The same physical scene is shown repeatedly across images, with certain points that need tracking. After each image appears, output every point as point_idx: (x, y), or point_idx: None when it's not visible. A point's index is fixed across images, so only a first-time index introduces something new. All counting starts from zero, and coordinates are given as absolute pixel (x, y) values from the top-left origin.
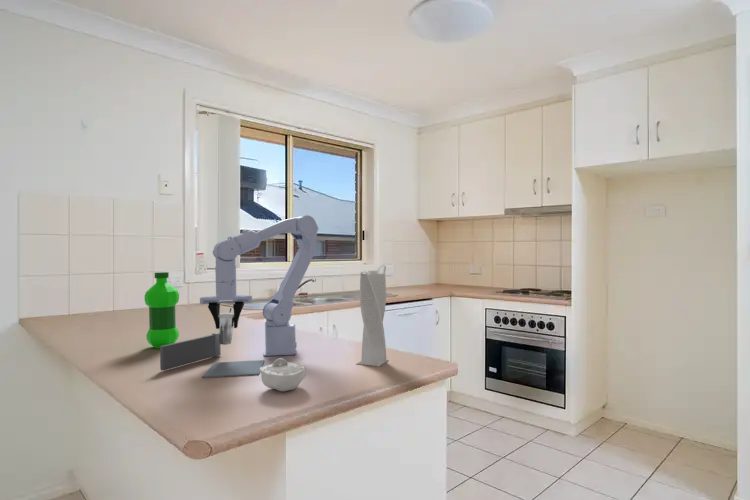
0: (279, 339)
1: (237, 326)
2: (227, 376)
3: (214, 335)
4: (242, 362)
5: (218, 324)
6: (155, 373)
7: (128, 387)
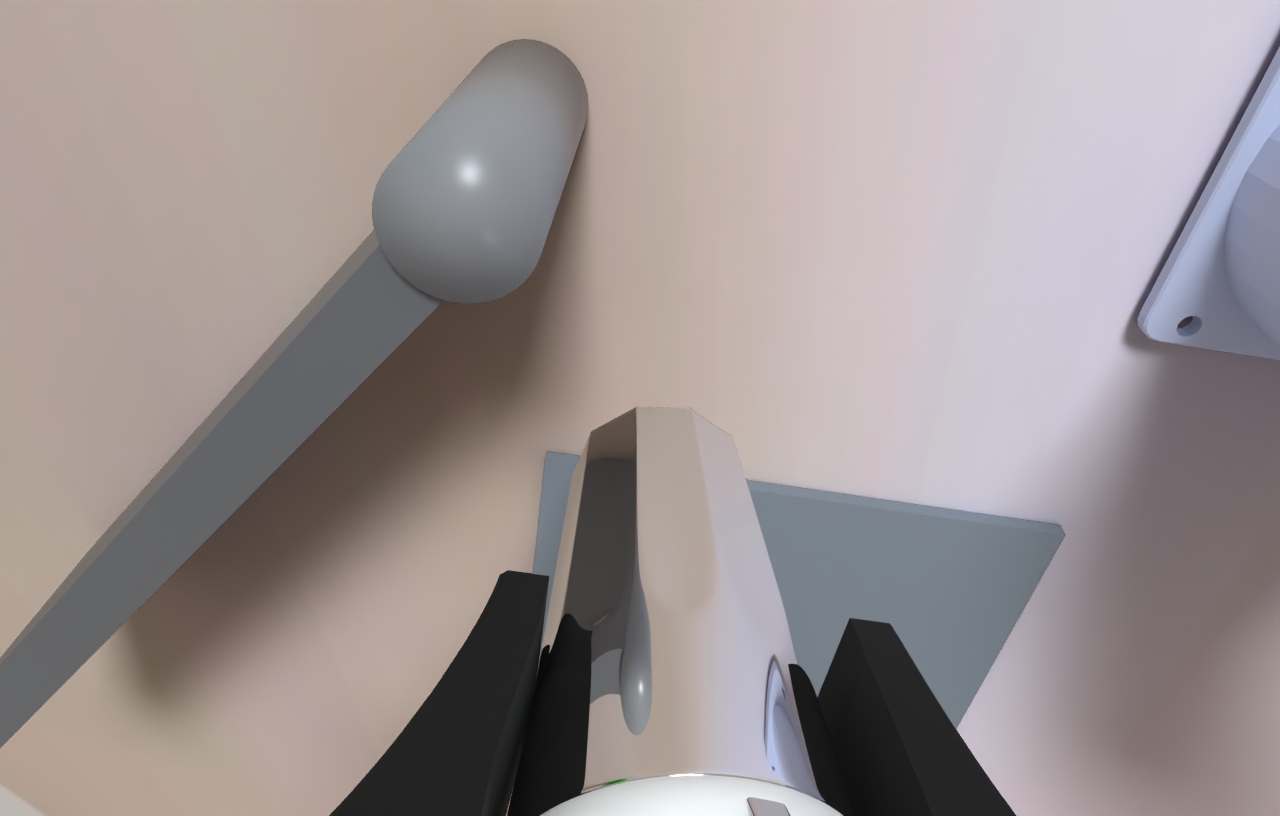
0: None
1: (895, 637)
2: None
3: (446, 294)
4: (834, 548)
5: (524, 730)
6: None
7: (84, 787)
